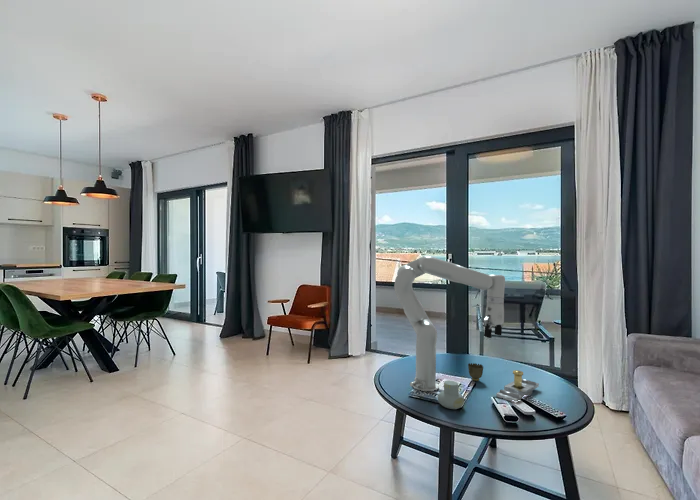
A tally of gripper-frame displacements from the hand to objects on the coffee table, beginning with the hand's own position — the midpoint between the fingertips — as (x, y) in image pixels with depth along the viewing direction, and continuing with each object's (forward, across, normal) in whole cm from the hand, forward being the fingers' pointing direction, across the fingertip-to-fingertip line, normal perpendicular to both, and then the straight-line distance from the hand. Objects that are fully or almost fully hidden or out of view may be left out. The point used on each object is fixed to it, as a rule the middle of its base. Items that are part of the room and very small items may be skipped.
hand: (492, 335), depth 168 cm
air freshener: (+27, -31, +1) cm, 41 cm away
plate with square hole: (+25, +6, -11) cm, 28 cm away
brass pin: (+25, +6, -11) cm, 28 cm away
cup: (+26, +5, +10) cm, 28 cm away
